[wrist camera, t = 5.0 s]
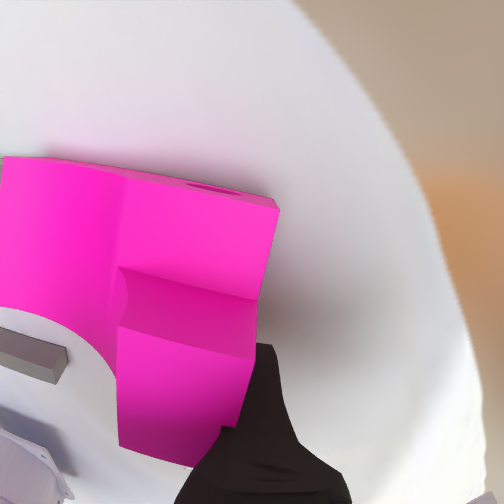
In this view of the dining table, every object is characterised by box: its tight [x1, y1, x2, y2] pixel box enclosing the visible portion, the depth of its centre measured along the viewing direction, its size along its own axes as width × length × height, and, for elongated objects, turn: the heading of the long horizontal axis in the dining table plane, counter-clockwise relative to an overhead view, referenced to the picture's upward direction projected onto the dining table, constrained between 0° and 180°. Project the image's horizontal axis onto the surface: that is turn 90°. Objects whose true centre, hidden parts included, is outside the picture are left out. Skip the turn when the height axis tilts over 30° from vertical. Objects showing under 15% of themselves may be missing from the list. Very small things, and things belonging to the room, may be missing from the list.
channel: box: [0, 159, 68, 385], centre depth 12 cm, size 11×18×2 cm, turn 79°
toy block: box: [0, 157, 280, 468], centre depth 9 cm, size 15×6×8 cm, turn 77°
